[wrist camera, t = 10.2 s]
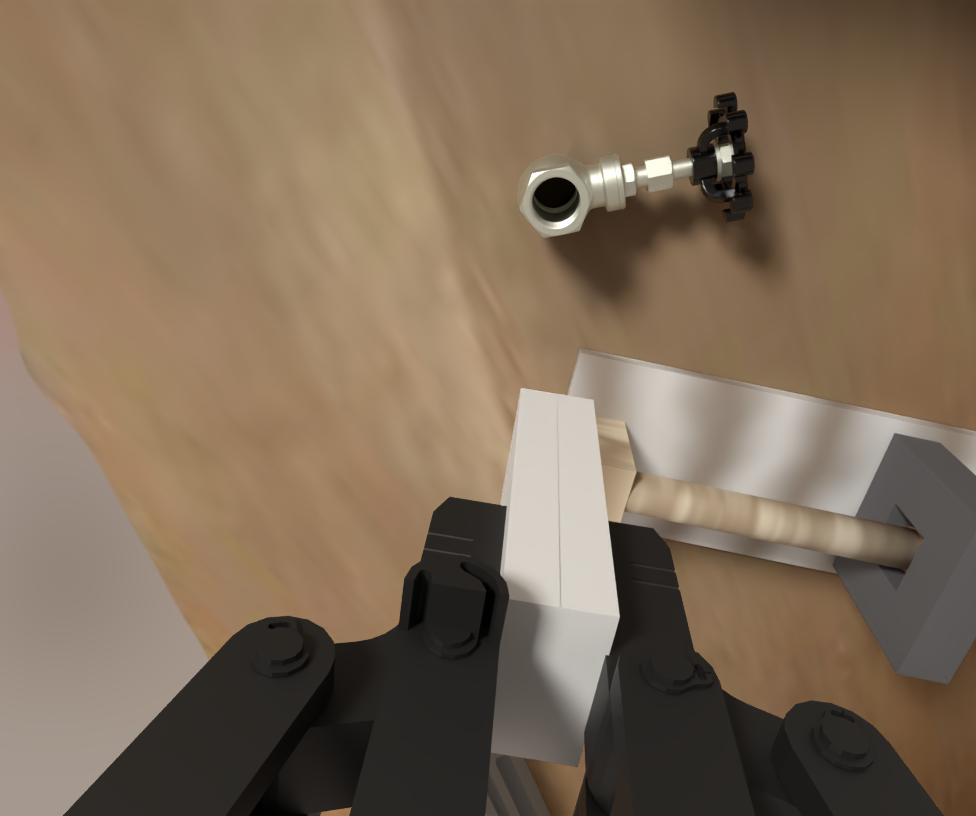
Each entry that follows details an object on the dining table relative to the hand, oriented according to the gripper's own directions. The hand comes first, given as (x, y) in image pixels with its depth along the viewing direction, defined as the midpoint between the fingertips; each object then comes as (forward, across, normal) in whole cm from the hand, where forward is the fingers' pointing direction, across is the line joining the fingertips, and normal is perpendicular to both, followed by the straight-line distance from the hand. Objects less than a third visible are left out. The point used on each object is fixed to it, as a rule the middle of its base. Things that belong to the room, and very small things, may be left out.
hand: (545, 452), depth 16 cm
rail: (+32, +19, -16) cm, 40 cm away
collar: (+31, +25, -16) cm, 43 cm away
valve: (+32, +4, +2) cm, 33 cm away
